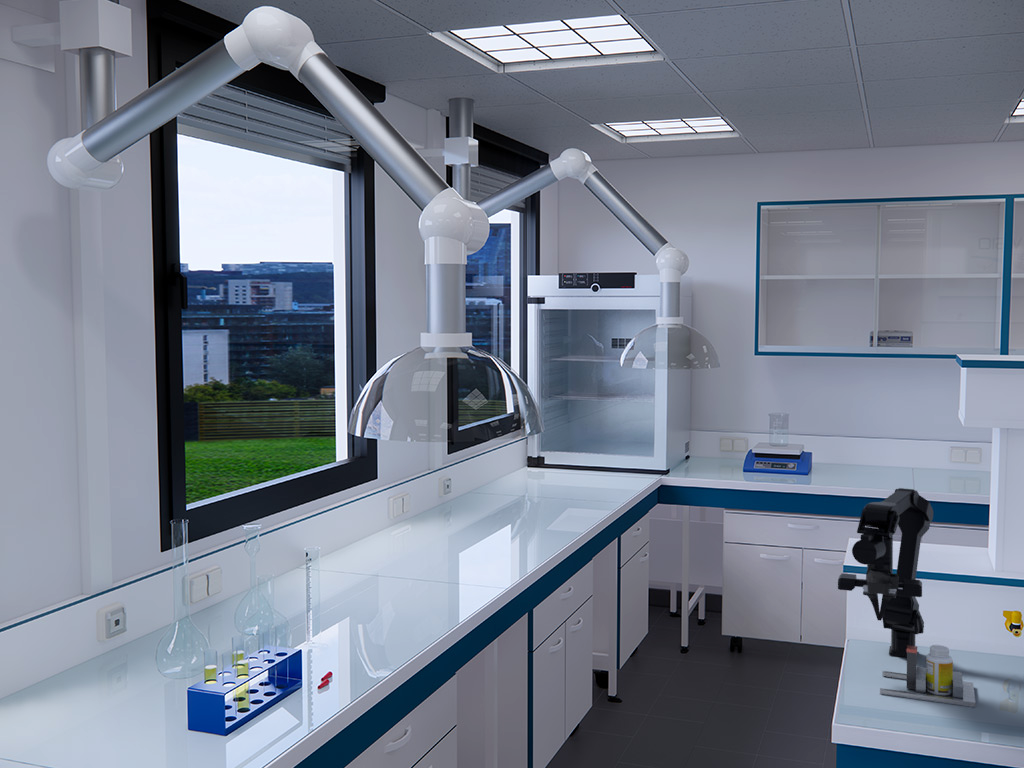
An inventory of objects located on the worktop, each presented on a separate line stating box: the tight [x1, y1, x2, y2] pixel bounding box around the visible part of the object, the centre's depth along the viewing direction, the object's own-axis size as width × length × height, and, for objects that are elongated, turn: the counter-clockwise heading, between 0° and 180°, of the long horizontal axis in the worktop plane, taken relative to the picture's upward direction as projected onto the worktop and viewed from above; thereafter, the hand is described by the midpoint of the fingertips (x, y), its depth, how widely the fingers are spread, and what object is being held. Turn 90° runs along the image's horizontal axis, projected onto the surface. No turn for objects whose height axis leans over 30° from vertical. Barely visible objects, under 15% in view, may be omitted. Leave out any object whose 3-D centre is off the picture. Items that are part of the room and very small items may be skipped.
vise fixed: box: [879, 670, 976, 708], centre depth 212 cm, size 13×19×4 cm
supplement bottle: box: [925, 644, 954, 697], centre depth 211 cm, size 6×6×10 cm
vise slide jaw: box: [906, 645, 927, 694], centre depth 213 cm, size 9×4×9 cm, turn 156°
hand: (879, 620), depth 224 cm, fingers closed
